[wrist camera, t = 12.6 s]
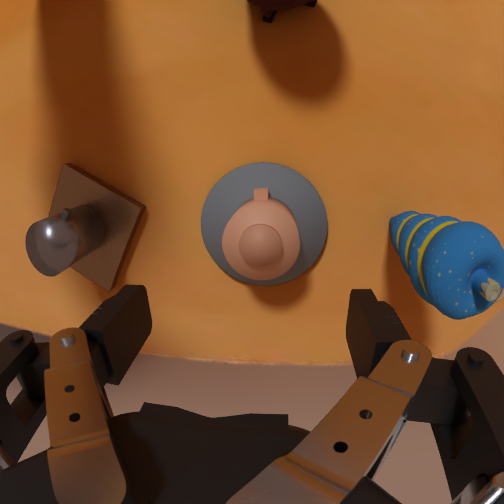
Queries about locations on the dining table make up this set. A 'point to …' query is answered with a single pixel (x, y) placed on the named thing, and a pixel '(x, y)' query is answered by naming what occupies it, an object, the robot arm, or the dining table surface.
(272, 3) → the mate gourd
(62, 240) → the cylinder on square base
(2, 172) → the dining table surface
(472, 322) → the dining table surface
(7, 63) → the dining table surface
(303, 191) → the coaster
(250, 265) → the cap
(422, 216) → the ornament
